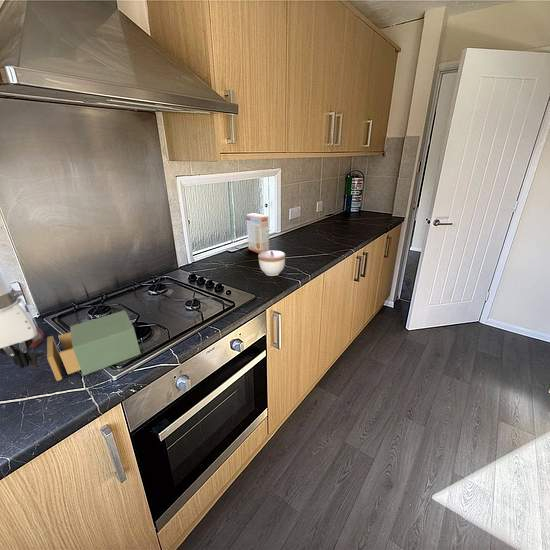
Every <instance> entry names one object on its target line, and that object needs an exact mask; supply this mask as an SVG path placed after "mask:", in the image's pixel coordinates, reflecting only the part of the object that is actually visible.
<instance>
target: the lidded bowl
mask: <svg viewBox="0 0 550 550" xmlns="http://www.w3.org/2000/svg"><path fill="white" fill-rule="evenodd" d="M257 258H258V265H259V268H260V270H261V271H262V273H264V274H265V275H266V276H269V277H275V276H278V275H280V274H281V272H282V271H283V270H284V268H285V266H286V253H285V252H284V251H281V250H269V251H264V252H261V253H260V254H259V253H258V255H257Z"/></svg>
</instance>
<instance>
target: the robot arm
mask: <svg viewBox="0 0 550 550" xmlns="http://www.w3.org/2000/svg"><path fill="white" fill-rule="evenodd" d="M22 296H24V292H23V290H22V289H20V290H16V289H14V288H13V286H12V284H11V283H10V280H9V278H8V275H7V274H6V271H5V269H4V267H3V265H2V262H1V261H0V354H1V355H6V356H8V357H10V358H12V360H13V362H14V365H15V366H19V369H21V370H22V369H24V368H28V367H30V361H31V354H30V352H29V348H30V347H31V346H30V345H31V344H32V343H33V342H35V341H37V340H39V339H41V338H42V334H41V333H40V332H39V331H38V330H37V329H38V328H39V327H38V324H37V322H36V319H35V317H34V315H33V313H32V311H31V310H30V309H29V307H28V305H27V304H26V303H25V301H24V300H23V298H20V297H22ZM17 344H18V347H19V349H18V348H17V347H15V345H17Z"/></svg>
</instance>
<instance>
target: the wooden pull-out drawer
mask: <svg viewBox="0 0 550 550" xmlns="http://www.w3.org/2000/svg"><path fill="white" fill-rule="evenodd" d="M58 339H59V342H60V345H61V347H62V351H59V349H58V345H57V343H56V341H55V339H54V335H50V336H46V347H47V348H46V349H47V350H45V351H41V352H37V353H36V352H33V353H31V354H30V356H31V361H29V369H30V371H35V370H36V369H37V368H38V367H41V366H44V365H46V364H49V366H50V368H51V371H52V374H53V375H54V378H55V381H56V382H59V381H61V380H63V369H62V366H64V368H65V371H66V373H67V375H71V374H74V373H76V372H79V371H81V369H80V366H79V363H78V361H77V358H76V355H75V353H74V350H73V346H72V338H71V331H69V332H66V333H63V334H62V333H61V334H59V335H58ZM44 355H46V356H47V357H46V358H47V360H44V361H41V362H38V357H40V356H44ZM62 363H63V365H62Z"/></svg>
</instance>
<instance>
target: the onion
mask: <svg viewBox="0 0 550 550" xmlns="http://www.w3.org/2000/svg"><path fill="white" fill-rule="evenodd" d="M37 330H38V331H39V332H40V333H41V334H42V338H41V339H39V340H37V341H35V342H33V343H32V344H31V345H30V346H29V347H31V348H36V347H37V346H38V345H40V344H41V342H42V341H43V340H44V332H43V330H42V329H41V328H39V327H38V329H37Z"/></svg>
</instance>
